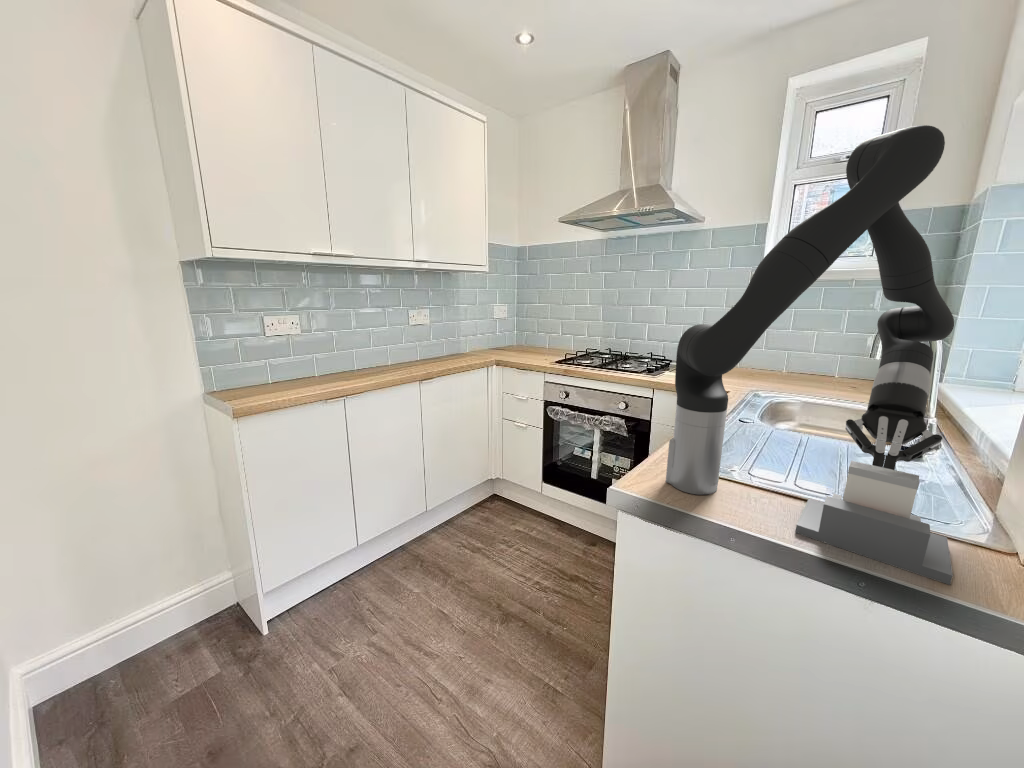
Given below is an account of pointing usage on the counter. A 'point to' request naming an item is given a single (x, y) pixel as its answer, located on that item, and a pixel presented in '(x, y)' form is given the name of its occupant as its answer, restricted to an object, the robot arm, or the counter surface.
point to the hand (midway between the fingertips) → (881, 476)
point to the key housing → (878, 536)
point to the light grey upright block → (881, 488)
